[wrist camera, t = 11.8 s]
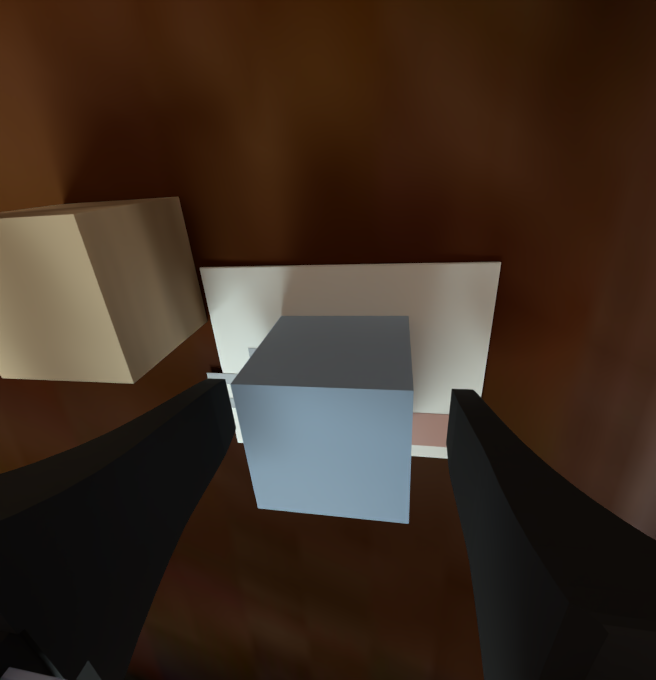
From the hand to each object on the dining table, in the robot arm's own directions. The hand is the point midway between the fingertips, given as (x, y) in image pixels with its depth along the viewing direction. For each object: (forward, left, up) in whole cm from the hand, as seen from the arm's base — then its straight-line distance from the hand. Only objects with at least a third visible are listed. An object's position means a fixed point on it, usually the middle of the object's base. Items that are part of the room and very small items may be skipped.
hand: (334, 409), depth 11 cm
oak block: (+8, -4, -3) cm, 9 cm away
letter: (0, 0, -3) cm, 3 cm away
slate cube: (0, 0, -2) cm, 2 cm away
